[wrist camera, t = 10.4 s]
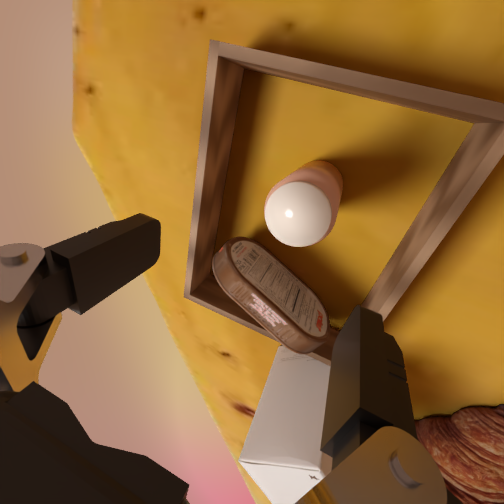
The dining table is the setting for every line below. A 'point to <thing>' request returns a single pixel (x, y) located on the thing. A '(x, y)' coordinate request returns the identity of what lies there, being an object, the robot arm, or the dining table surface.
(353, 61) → the dining table surface
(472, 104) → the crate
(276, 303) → the tin
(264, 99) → the dining table surface
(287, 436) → the supplement box
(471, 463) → the pastry
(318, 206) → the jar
